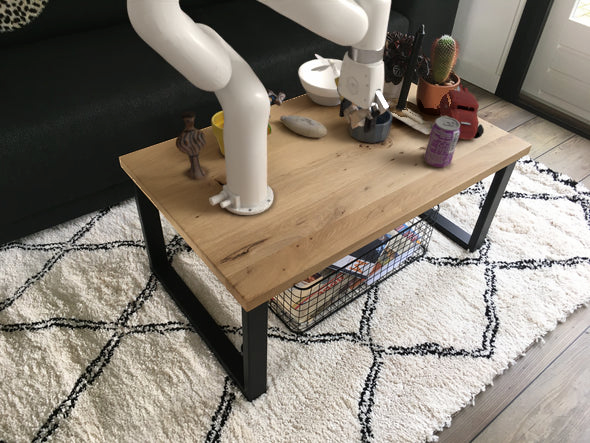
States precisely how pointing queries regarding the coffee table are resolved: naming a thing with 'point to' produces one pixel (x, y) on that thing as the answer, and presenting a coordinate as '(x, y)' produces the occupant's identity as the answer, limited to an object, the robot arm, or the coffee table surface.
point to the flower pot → (219, 129)
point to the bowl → (320, 82)
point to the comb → (415, 121)
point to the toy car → (462, 112)
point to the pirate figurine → (277, 102)
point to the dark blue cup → (378, 133)
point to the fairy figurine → (326, 65)
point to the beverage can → (442, 141)
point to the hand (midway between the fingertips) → (356, 122)
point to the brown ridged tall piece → (192, 145)
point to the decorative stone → (304, 126)
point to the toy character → (355, 116)
